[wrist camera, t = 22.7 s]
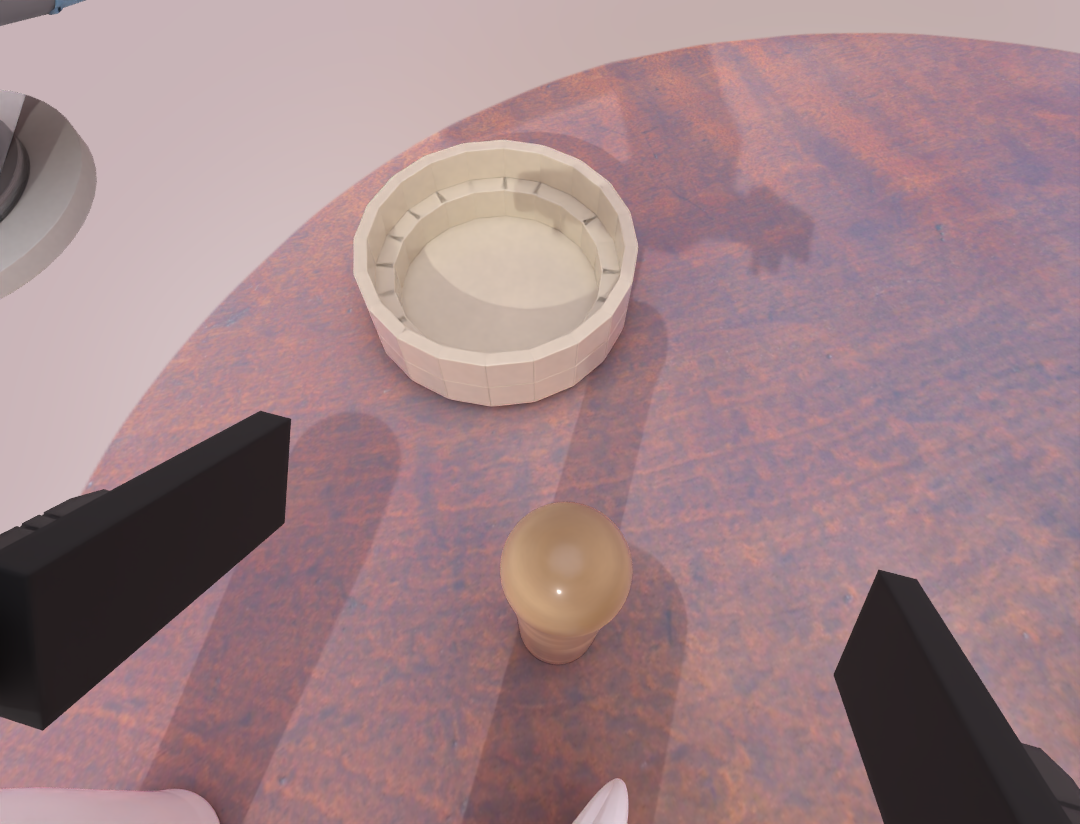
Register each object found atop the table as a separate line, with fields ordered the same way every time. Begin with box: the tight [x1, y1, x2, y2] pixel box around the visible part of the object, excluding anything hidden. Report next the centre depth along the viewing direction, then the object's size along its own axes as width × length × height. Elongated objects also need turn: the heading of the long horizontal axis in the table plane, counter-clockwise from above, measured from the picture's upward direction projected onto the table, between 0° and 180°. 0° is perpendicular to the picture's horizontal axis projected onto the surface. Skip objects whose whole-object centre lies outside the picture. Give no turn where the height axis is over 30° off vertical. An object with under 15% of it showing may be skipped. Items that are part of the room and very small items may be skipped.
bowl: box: [353, 140, 638, 407], centre depth 41 cm, size 17×17×6 cm
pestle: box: [500, 502, 633, 664], centre depth 28 cm, size 5×5×15 cm
